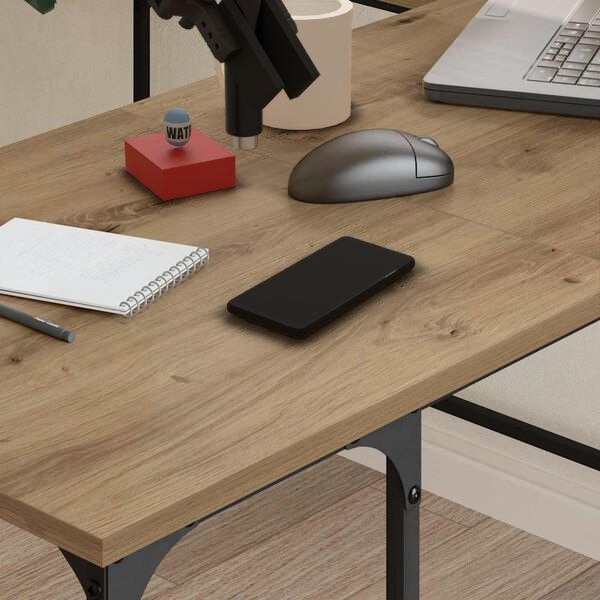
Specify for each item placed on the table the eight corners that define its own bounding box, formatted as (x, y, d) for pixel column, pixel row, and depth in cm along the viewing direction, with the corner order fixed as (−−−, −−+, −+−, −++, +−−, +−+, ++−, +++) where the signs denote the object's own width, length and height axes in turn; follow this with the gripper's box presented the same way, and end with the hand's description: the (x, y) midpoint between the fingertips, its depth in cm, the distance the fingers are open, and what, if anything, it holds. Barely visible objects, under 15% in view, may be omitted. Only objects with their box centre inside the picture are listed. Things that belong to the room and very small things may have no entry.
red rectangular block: (235, 186, 122) (234, 116, 119) (163, 200, 119) (160, 129, 116) (195, 156, 128) (193, 89, 125) (125, 169, 125) (122, 101, 122)
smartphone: (419, 257, 107) (300, 331, 96) (418, 267, 107) (300, 342, 96) (344, 233, 110) (222, 302, 100) (344, 243, 111) (222, 313, 100)
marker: (239, 155, 90) (235, -67, 83) (217, 144, 92) (212, -75, 85) (271, 147, 91) (269, -73, 85) (249, 136, 93) (246, -80, 86)
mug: (202, 123, 136) (199, 14, 131) (227, 90, 145) (225, -14, 140) (341, 133, 134) (343, 22, 129) (358, 98, 142) (361, -6, 138)
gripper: (167, -192, 97) (340, 95, 95) (-23, -166, 87) (165, 155, 85) (217, -269, 92) (404, 34, 89) (21, -251, 82) (224, 91, 79)
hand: (287, 92), depth 87 cm, fingers closed on marker, 2 cm apart
